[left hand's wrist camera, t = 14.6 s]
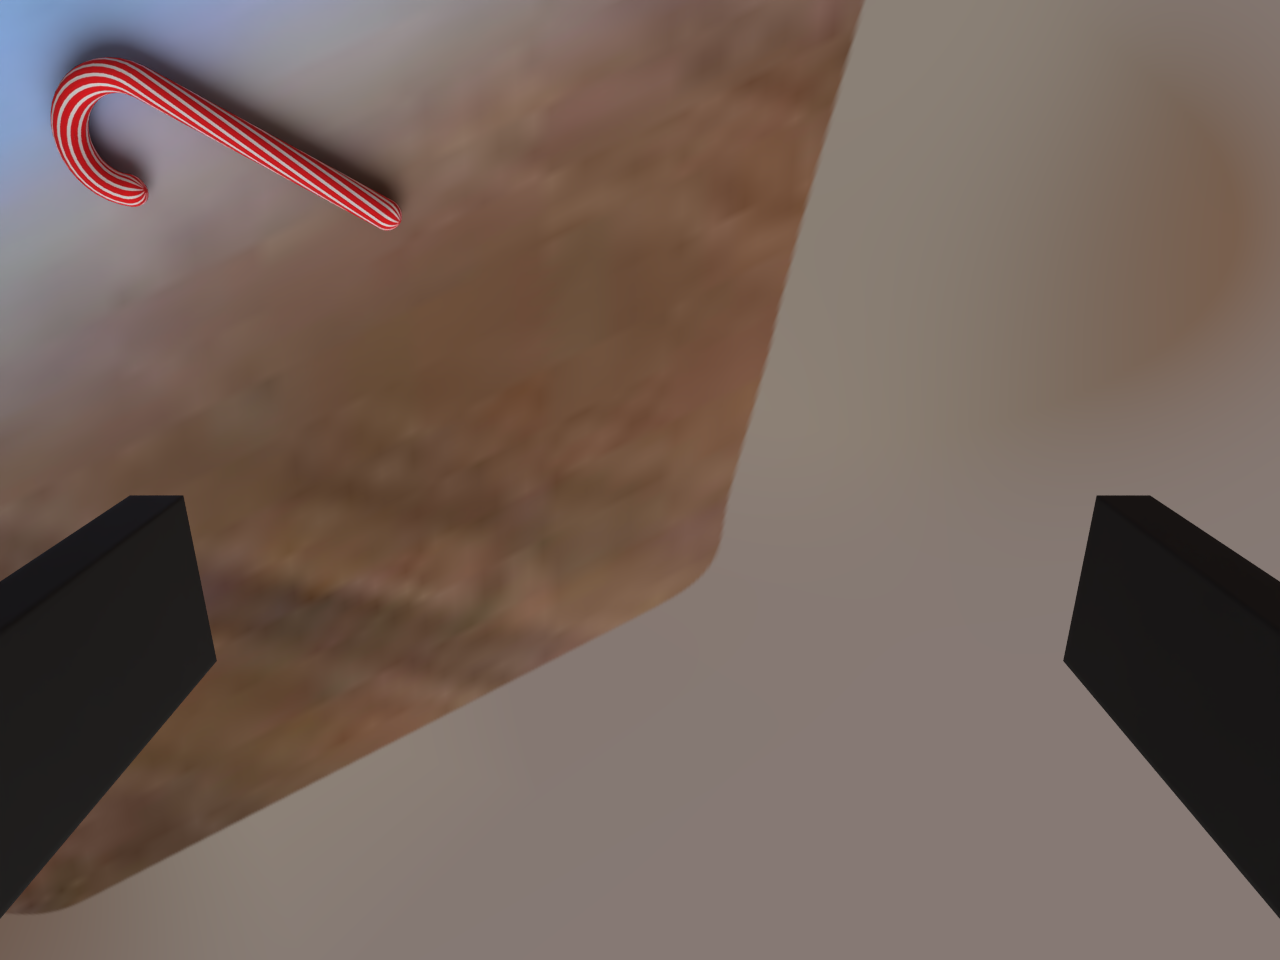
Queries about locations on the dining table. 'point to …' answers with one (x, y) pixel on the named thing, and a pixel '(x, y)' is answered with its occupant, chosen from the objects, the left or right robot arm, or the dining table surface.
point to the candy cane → (201, 115)
